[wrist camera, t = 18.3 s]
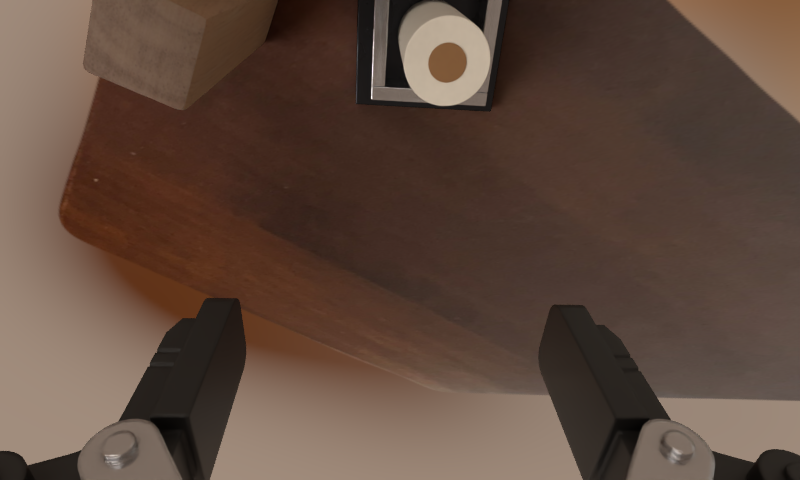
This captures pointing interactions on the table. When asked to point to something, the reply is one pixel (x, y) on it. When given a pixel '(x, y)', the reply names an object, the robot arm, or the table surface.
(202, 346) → the robot arm
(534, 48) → the table surface
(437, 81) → the paper roll
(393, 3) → the stand
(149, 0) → the wooden block
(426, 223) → the table surface
